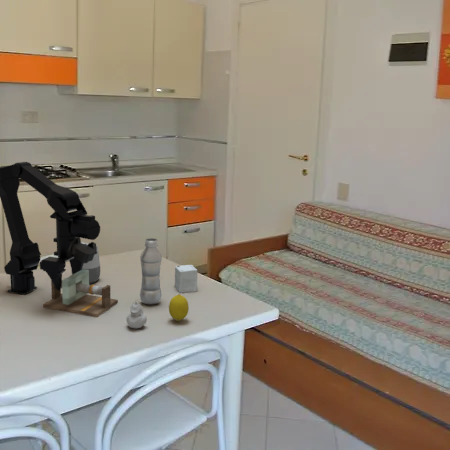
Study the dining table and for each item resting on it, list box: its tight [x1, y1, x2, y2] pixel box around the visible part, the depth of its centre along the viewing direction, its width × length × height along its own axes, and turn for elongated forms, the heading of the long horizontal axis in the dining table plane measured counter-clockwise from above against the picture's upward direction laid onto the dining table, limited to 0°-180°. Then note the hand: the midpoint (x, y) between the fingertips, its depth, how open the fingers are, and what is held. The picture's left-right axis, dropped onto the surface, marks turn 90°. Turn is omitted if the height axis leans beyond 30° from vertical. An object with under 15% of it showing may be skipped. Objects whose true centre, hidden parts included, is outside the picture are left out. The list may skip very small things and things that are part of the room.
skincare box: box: [174, 264, 198, 294], centre depth 184 cm, size 6×6×7 cm
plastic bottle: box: [139, 237, 163, 305], centre depth 169 cm, size 6×7×20 cm
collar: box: [61, 269, 90, 305], centre depth 167 cm, size 2×11×7 cm, turn 162°
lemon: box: [168, 293, 190, 322], centre depth 159 cm, size 6×6×8 cm
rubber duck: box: [126, 300, 148, 329], centre depth 154 cm, size 5×7×8 cm
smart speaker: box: [70, 241, 101, 285], centre depth 187 cm, size 10×9×14 cm
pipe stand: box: [42, 279, 119, 318], centre depth 167 cm, size 18×12×7 cm, turn 72°
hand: (67, 285), depth 168 cm, fingers open, 9 cm apart
